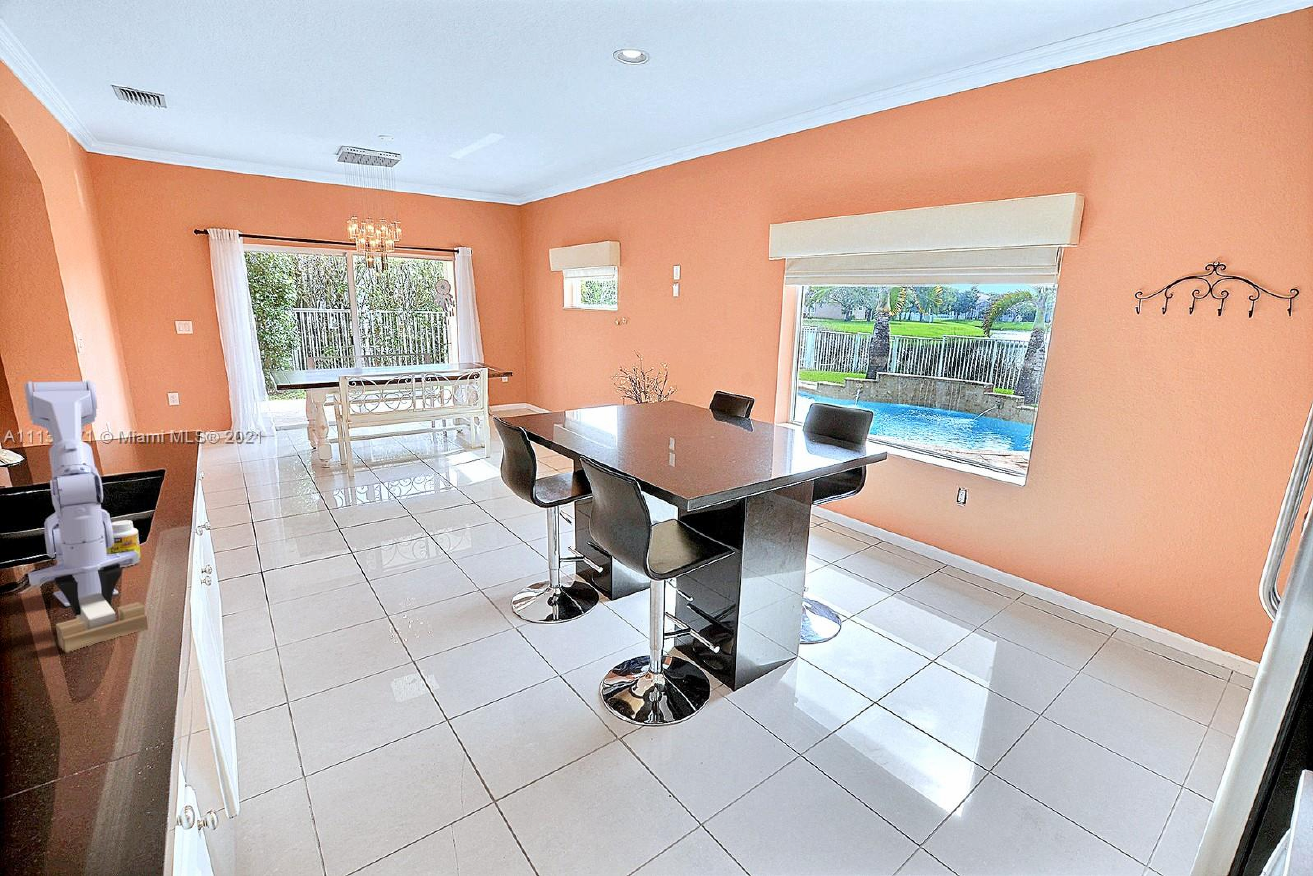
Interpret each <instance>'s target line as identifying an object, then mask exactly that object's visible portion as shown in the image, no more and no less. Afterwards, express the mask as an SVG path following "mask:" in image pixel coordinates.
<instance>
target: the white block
mask: <svg viewBox="0 0 1313 876" xmlns="http://www.w3.org/2000/svg"><path fill="white" fill-rule="evenodd" d="M78 600H79V604H80V609H81V614H80V615H77V616H75V617H76V618H75V619H77V618H80V619H81V620H82V621H83V622H84V623H85V631H87V630H90V629H94V628H97V627H101V626H104V625H108V624H111V623H115V622H117V618H116V617H117V615H116V611H115V610H114V609H113V608H112V605H111V606H110V605H109V604H108V602H107V601H106V600H105V598H104V597H103V596H102V595H101V593H97V594H92V595H88V596H84V597H80V598H78Z"/></svg>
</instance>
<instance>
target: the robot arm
mask: <svg viewBox="0 0 1313 876" xmlns="http://www.w3.org/2000/svg"><path fill="white" fill-rule="evenodd" d="M24 392H25V398H26V400H25V401H26V406H27V412H28V414H29V419H30V421H31V422H32V424H33V425H35V426H37V427H40V428H41V427H42V428H44V429H46V431H47V432H48V434H49V435H50V438H51V439H52V446H51V447H50V448H49V450H48V456H49V463H50V470H51V477H52V479H50V481H49V485H50V487H49V488H50V494H51V501H52V506H53V507H54V511H55V512H54V513H51V515H49V516H48V517H47V518H45V521H44V524H43V525H44V530H43V531H44V540H45V547H46V555H47V556H48V557H50V558H51V559H53V558H56V562H57V563H56V565H53V566H50V567H47V568H43V569H40V570H39V569H38V570H35V571H31V572H28V573H27V574H28V575H27V576H28V581H29V584H30V586H32V587H35V586H38V585H41V584H42V583H47V582H51V581H52V582H53V583H54V585H56V587H58V589H59V590H57V591H54V592H53V596H55V598H57V600H59V601H60V602H61V604H63V605H64V607H70V608H71V610H72V614H73V615H74V616H75V617H76V616H77V615H80V614H81V609H80V604H79V600H78V598H80V597H84V596H88V595H92V594H97V593H101V595H102V596H103V597H104V598H105V600H106V601H107V602H108V604H109V605H110V606H111V607H112V600H113V596H114V595H118V594H119V591H118V590H117V589H116V587H117V586H116V585H117V584H118V581H119V579H120V578H121V576H122V574H123V568H120V565H124V564H128V563H138V562H139V553H138V552H136V551H130V552H124V553H116V554H109V555H108V549H107V548H112V546H113V545H114V536H113V529H112V523H113V522H112V521H111V516H110V513H109V512H108V510H105V509H103V508H102V504H101V503H103V500H104V491H103V490H104V489H103V482H102V477H101V475H100V474H99V471H98V468H97V467H96V464H95V458H94V453H93V449H92V448H93V447H92V446H91V445H90V444H88V443H87V442H85V441H82V440H83V438H82V432H83V430H84V427H85V426H87V425H90V424H92V423H94V422H95V421H96V417H97V409H98V402H97V401H98V400H97V399H98V398H97V393H96V386H95V384H94V382H92V380H86V381H85V380H84V381H41V382H40V381H37V382H36V381H34V382H32V381H27V382H26V383H25V384H24ZM97 496H99V500H100V502H99V500H98V499H97ZM139 563H140V562H139ZM139 563H138V564H139Z"/></svg>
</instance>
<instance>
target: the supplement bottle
mask: <svg viewBox="0 0 1313 876" xmlns="http://www.w3.org/2000/svg"><path fill="white" fill-rule="evenodd" d="M111 523H112V529H113V536H114V545H113V546H112V548H107V555H109V554H116V553H124V552H130V551H136V552H138V553H139V561H140V560H141V561H142V557H141V546H140V539H139V537H140V535H139V530H138V529H137V528H135V527H134V524H133V521H132V520H130V519H129V520H128V519H125V520H117V521H113V522H111ZM141 561H140V562H141ZM133 564H135V563H128V564H124V565H120V567H125V568H127V567H126V566H130V565H133ZM133 566H134V565H133ZM130 567H131V566H130Z"/></svg>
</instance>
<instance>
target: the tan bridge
mask: <svg viewBox="0 0 1313 876" xmlns="http://www.w3.org/2000/svg"><path fill="white" fill-rule="evenodd" d="M117 612H118V613H117V614H118V621H116V622H115V623H111V624H108V625H104V626H101V627H97V628H94V629H90V630H87V631H85V623H84V622H83V621H82V620H81V619H80V618H74V619H70V620H67V621H61V622H59V623H55V626H56V627H55V628H56V635H57V642H58V646H59V647H60V649H61V648H62V649H61V650H62V651H63V652H65V654H69V653H71V652H70V651H72V652H75V651H78V650H81V649H80V648H82V649H84V648H83V647H85V648H87V647H86V646H88V647H91V645H92V646H94V645H93V644H95V643H98V642H101V641H105V642H108V641H110V639H112V640H115V639H117V637H118V638H120V637H119V636H122V637H124V636H128V634H129V635H132V634H135V633H138V632H141V631H145V630H149V629H148V628H149V627H148V617H147V615H146V613H145V605H143V604H142V603H140V602H133V603H129V604H126V605H122V606H119V607H117ZM134 632H135V633H134ZM131 633H132V634H131ZM114 638H115V639H114ZM107 640H108V641H107ZM98 644H99V643H98ZM95 645H96V644H95ZM77 649H78V650H77ZM74 650H75V651H74Z"/></svg>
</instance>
